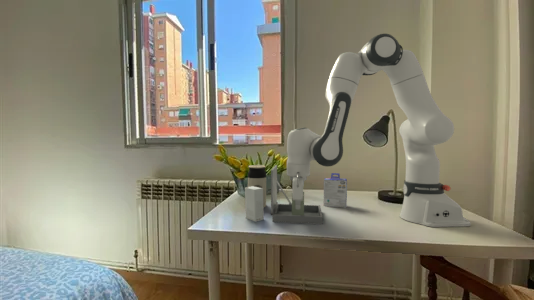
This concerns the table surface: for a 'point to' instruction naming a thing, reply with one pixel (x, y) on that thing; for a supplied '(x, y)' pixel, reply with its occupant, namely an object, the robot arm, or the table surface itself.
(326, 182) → the ink cartridge box
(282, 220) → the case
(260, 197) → the skincare box
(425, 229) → the table surface
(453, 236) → the table surface
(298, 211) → the block
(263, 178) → the travel mug
